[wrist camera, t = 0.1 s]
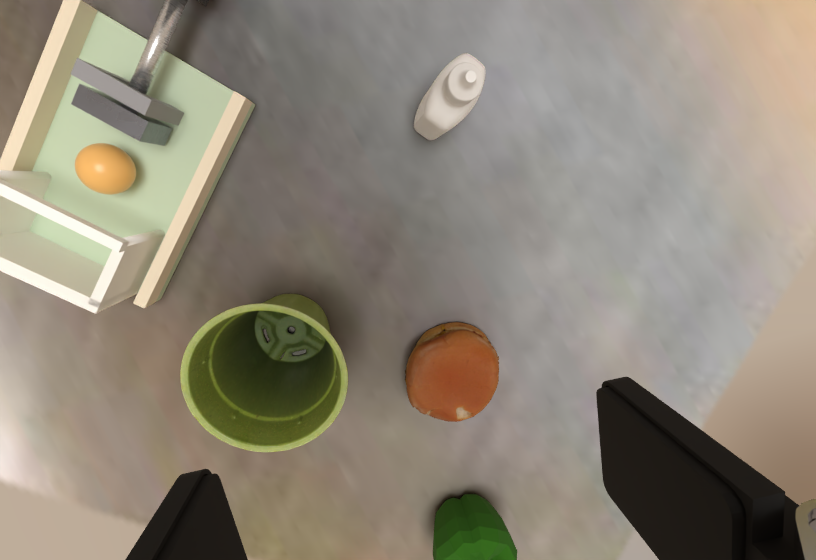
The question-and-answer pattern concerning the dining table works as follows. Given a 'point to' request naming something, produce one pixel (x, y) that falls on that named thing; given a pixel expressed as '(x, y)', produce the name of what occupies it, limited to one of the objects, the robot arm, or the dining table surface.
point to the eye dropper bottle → (450, 97)
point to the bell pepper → (471, 531)
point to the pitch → (155, 164)
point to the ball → (105, 168)
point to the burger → (452, 372)
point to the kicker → (137, 84)
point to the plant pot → (265, 375)
